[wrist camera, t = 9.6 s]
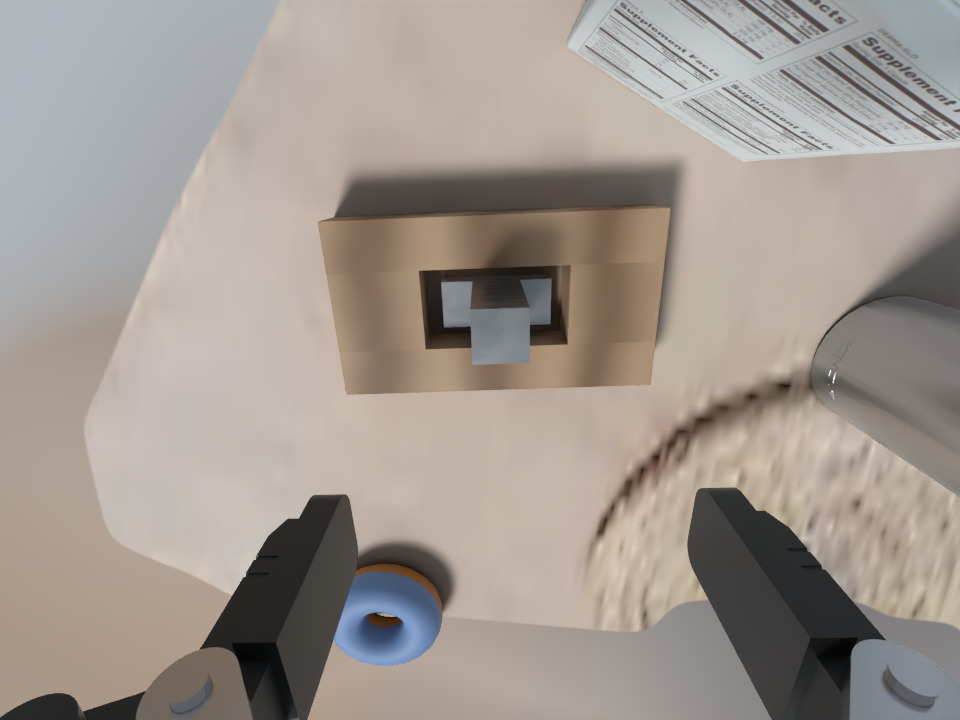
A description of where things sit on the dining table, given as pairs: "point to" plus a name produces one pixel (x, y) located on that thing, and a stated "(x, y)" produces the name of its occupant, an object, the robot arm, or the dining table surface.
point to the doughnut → (389, 635)
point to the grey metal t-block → (497, 313)
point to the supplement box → (788, 70)
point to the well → (496, 244)
